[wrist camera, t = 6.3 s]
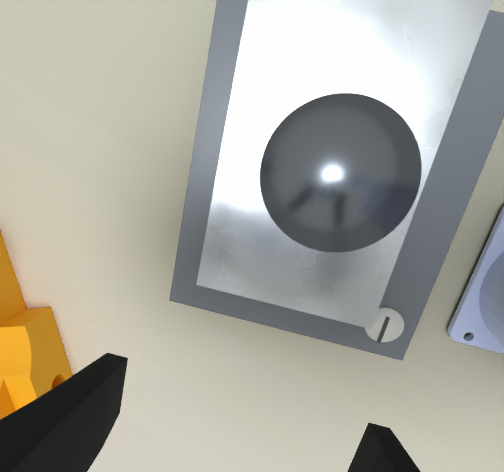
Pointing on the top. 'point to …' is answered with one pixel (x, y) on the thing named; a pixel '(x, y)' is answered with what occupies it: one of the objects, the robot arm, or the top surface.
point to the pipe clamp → (26, 345)
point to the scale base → (421, 226)
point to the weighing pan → (308, 88)
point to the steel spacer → (340, 172)
